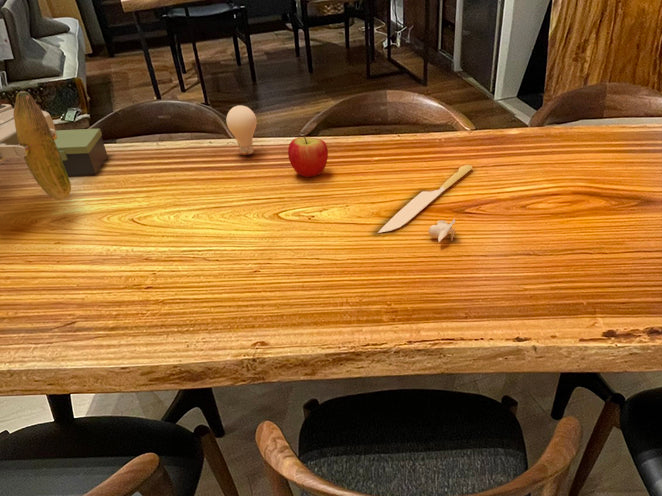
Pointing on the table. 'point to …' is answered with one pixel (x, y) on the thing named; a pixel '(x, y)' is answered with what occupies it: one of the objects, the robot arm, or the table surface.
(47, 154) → the vegetable
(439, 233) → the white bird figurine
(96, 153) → the block
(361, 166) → the table surface
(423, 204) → the knife
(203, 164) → the table surface
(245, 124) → the light bulb
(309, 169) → the apple
